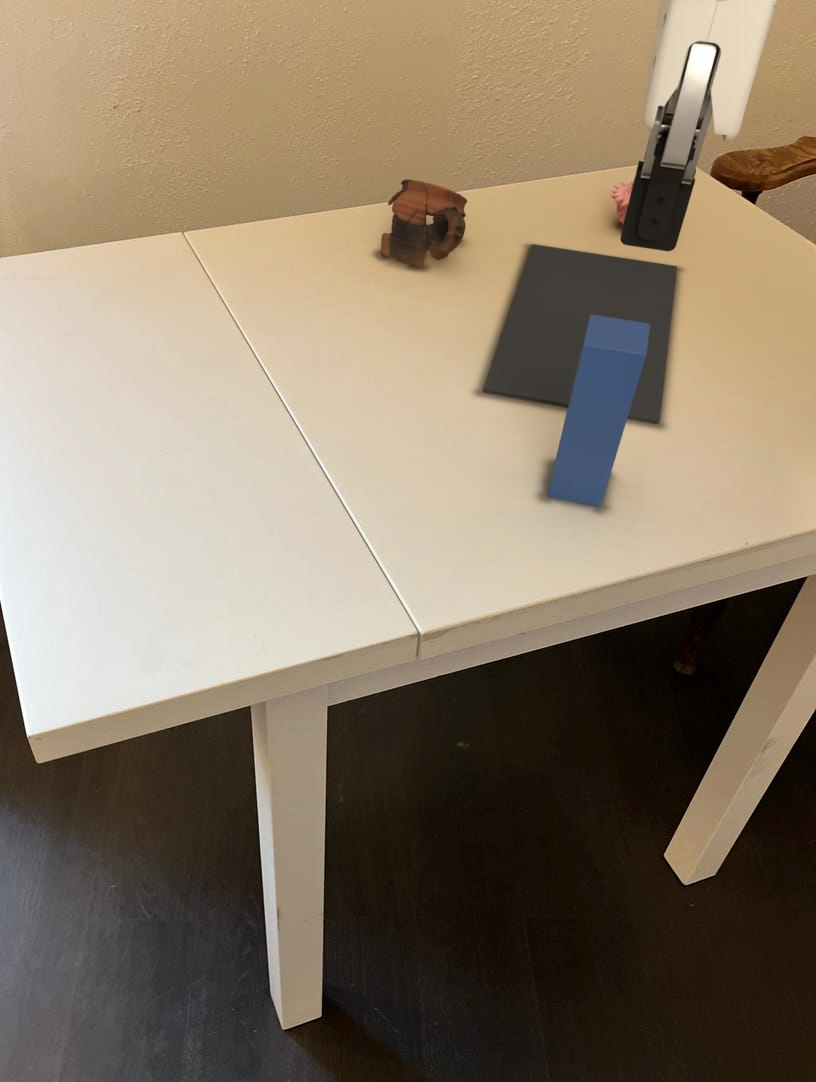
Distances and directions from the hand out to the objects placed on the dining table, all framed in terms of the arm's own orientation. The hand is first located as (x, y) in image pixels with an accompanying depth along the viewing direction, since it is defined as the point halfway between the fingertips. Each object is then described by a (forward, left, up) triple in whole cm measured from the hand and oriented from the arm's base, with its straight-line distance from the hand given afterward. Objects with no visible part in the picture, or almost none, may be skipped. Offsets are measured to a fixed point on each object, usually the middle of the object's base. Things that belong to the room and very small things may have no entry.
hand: (647, 239), depth 57 cm
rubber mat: (+2, -33, -24) cm, 41 cm away
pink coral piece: (-1, -57, -24) cm, 62 cm away
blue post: (0, -7, -24) cm, 25 cm away
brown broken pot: (+21, -43, -24) cm, 54 cm away
